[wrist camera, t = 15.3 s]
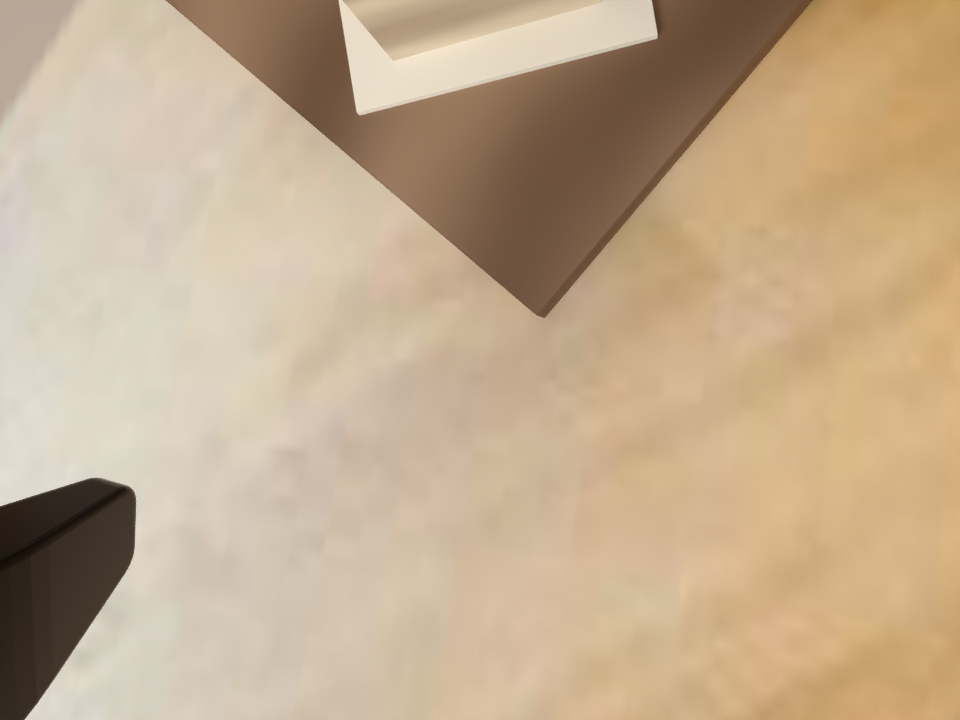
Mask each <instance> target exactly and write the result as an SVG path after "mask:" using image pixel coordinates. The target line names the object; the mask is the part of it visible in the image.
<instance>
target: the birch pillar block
mask: <svg viewBox="0 0 960 720" xmlns="http://www.w3.org/2000/svg"><path fill="white" fill-rule="evenodd" d="M343 2H344V3H345V4H346V5H347V6H348V8H349V9H350V10H351V11H352V12H353V14H354V15H355V16H356V17H357V18H358V20H359V21H360V22H361V23H362V24H363V26H364V27H365V28H366V29H367V30H368V32H369V33H370V34H371V35H372V36H373V38H374V39H375V40H376V41H377V42H378V44H379V45H380V46H381V47H382V48H383V50H384V51H385V52H386V53H387V54H388V56H389V57H390V58H391V59H392V60H393V61H395V60H399V59H402V58H406V57H409V56H413V55H416V54H420V53H424V52H427V51H431V50H434V49H438V48H441V47H445V46H449V45H452V44H456V43H459V42H463V41H467V40H470V39H474V38H477V37H481V36H484V35H488V34H492V33H495V32H499V31H502V30H506V29H509V28H513V27H517V26H520V25H524V24H527V23H531V22H534V21H538V20H542V19H545V18H549V17H552V16H556V15H560V14H563V13H567V12H570V11H574V10H577V9H581V8H585V7H588V6H592V5H595V4H599V3H601V0H343Z"/></svg>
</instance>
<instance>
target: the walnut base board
mask: <svg viewBox="0 0 960 720" xmlns="http://www.w3.org/2000/svg"><path fill="white" fill-rule="evenodd" d="M166 1H167V2H168V3H170V4H171V5H172V6H173V7H174V8H176V9H177V10H178V11H179V12H180V13H181V14H183V15H184V16H185V17H186V18H187V19H188V20H190V21H191V22H192V23H193V24H194V25H196V26H197V27H198V28H199V29H200V30H201V31H203V32H204V33H205V34H206V35H207V36H208V37H210V38H211V39H212V40H213V41H214V42H216V43H217V44H218V45H219V46H220V47H221V48H223V49H224V50H225V51H226V52H227V53H229V54H230V55H231V56H232V57H233V58H234V59H236V60H237V61H238V62H239V63H240V64H241V65H243V66H244V67H245V68H246V69H247V70H249V71H250V72H251V73H252V74H253V75H254V76H256V77H257V78H258V79H259V80H260V81H261V82H263V83H264V84H265V85H266V86H267V87H269V88H270V89H271V90H272V91H273V92H274V93H276V94H277V95H278V96H279V97H280V98H281V99H283V100H284V101H285V102H286V103H287V104H289V105H290V106H291V107H292V108H293V109H294V110H296V111H297V112H298V113H299V114H300V115H301V116H303V117H304V118H305V119H306V120H307V121H309V122H310V123H311V124H312V125H313V126H314V127H316V128H317V129H318V130H319V131H320V132H322V133H323V134H324V135H325V136H326V137H327V138H329V139H330V140H331V141H332V142H333V143H334V144H336V145H337V146H338V147H339V148H340V149H342V150H343V151H344V152H345V153H346V154H347V155H349V156H350V157H351V158H352V159H353V160H354V161H356V162H357V163H358V164H359V165H360V166H362V167H363V168H364V169H365V170H366V171H367V172H369V173H370V174H371V175H372V176H373V177H374V178H376V179H377V180H378V181H379V182H380V183H382V184H383V185H384V186H385V187H386V188H387V189H389V190H390V191H391V192H392V193H393V194H394V195H396V196H397V197H398V198H399V199H400V200H402V201H403V202H404V203H405V204H406V205H407V206H409V207H410V208H411V209H412V210H413V211H414V212H416V213H417V214H418V215H419V216H420V217H422V218H423V219H424V220H425V221H426V222H427V223H429V224H430V225H431V226H432V227H433V228H435V229H436V230H437V231H438V232H439V233H440V234H442V235H443V236H444V237H445V238H446V239H447V240H449V241H450V242H451V243H452V244H453V245H455V246H456V247H457V248H458V249H459V250H460V251H462V252H463V253H464V254H465V255H466V256H467V257H469V258H470V259H471V260H472V261H473V262H475V263H476V264H477V265H478V266H479V267H480V268H482V269H483V270H484V271H485V272H486V273H487V274H489V275H490V276H491V277H492V278H493V279H495V280H496V281H497V282H498V283H499V284H500V285H502V286H503V287H504V288H505V289H506V290H507V291H509V292H510V293H511V294H512V295H513V296H515V297H516V298H517V299H518V300H519V301H520V302H522V303H523V304H524V305H525V306H526V307H528V308H529V309H530V310H531V311H532V312H533V313H535V314H536V315H538V316H541V317H543V318H545V317H546V315H547V314H548V313H549V312H550V311H551V310H552V308H553V307H554V306H555V305H556V304H557V302H558V301H559V300H560V299H561V298H562V297H563V295H564V294H565V293H566V292H567V291H568V289H569V288H570V287H571V286H572V285H573V283H574V282H575V281H576V280H577V279H578V278H579V276H580V275H581V274H582V273H583V272H584V270H585V269H586V268H587V267H588V266H589V265H590V263H591V262H592V261H593V260H594V259H595V257H596V256H597V255H598V254H599V253H600V251H601V250H602V249H603V248H604V247H605V246H606V244H607V243H608V242H609V241H610V240H611V238H612V237H613V236H614V235H615V234H616V233H617V231H618V230H619V229H620V228H621V227H622V225H623V224H624V223H625V222H626V221H627V219H628V218H629V217H630V216H631V215H632V214H633V212H634V211H635V210H636V209H637V208H638V206H639V205H640V204H641V203H642V202H643V201H644V199H645V198H646V197H647V196H648V195H649V193H650V192H651V191H652V190H653V189H654V188H655V186H656V185H657V184H658V183H659V182H660V180H661V179H662V178H663V177H664V176H665V174H666V173H667V172H668V171H669V170H670V169H671V167H672V166H673V165H674V164H675V163H676V161H677V160H678V159H679V158H680V157H681V156H682V154H683V153H684V152H685V151H686V150H687V148H688V147H689V146H690V145H691V144H692V142H693V141H694V140H695V139H696V138H697V137H698V135H699V134H700V133H701V132H702V131H703V129H704V128H705V127H706V126H707V125H708V124H709V122H710V121H711V120H712V119H713V118H714V116H715V115H716V114H717V113H718V112H719V110H720V109H721V108H722V107H723V106H724V105H725V103H726V102H727V101H728V100H729V99H730V97H731V96H732V95H733V94H734V93H735V92H736V90H737V89H738V88H739V87H740V86H741V84H742V83H743V82H744V81H745V80H746V78H747V77H748V76H749V75H750V74H751V73H752V71H753V70H754V69H755V68H756V67H757V65H758V64H759V63H760V62H761V61H762V60H763V58H764V57H765V56H766V55H767V54H768V52H769V51H770V50H771V49H772V48H773V47H774V45H775V44H776V43H777V42H778V41H779V39H780V38H781V37H782V36H783V35H784V33H785V32H786V31H787V30H788V29H789V28H790V26H791V25H792V24H793V23H794V22H795V20H796V19H797V18H798V17H799V16H800V15H801V13H802V12H803V11H804V10H805V9H806V7H807V6H808V5H809V4H810V3H811V1H812V0H601V3H599V4H595V5H592V6H588V7H585V8H581V9H577V10H574V11H570V12H567V13H563V14H560V15H556V16H552V17H549V18H545V19H542V20H538V21H534V22H531V23H527V24H524V25H520V26H517V27H513V28H509V29H506V30H502V31H499V32H495V33H492V34H488V35H484V36H481V37H477V38H474V39H470V40H467V41H463V42H459V43H456V44H452V45H449V46H445V47H441V48H438V49H434V50H431V51H427V52H424V53H420V54H416V55H413V56H409V57H406V58H402V59H399V60H395V61H393V60H392V59H391V58H390V57H389V56H388V54H387V53H386V52H385V51H384V50H383V48H382V47H381V46H380V45H379V44H378V42H377V41H376V40H375V39H374V38H373V36H372V35H371V34H370V33H369V32H368V30H367V29H366V28H365V27H364V26H363V24H362V23H361V22H360V21H359V20H358V18H357V17H356V16H355V15H354V14H353V12H352V11H351V10H350V9H349V8H348V6H347V5H346V4H345V3H344V2H343V0H166Z"/></svg>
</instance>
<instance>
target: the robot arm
mask: <svg viewBox="0 0 960 720" xmlns="http://www.w3.org/2000/svg"><path fill="white" fill-rule="evenodd" d="M135 521H136V496H135V493H134V491H133V489H131V488H130V487H129V486H127V485H123V484H120V483H116V482H113V481H109V480H106V479H102V478H90V479H86V480H83V481H80V482H77V483H73V484H70V485H67V486H64V487H61V488H57V489H54V490H51V491H48V492H45V493H41V494H38V495H35V496H32V497H29V498H25V499H22V500H19V501H16V502H13V503H9V504H6V505H3V506H0V720H25V718H26V717H27V716H28V714H29V713H30V712H31V711H32V709H33V708H34V707H35V705H36V704H37V703H38V702H39V700H40V699H41V697H42V696H43V694H44V693H45V692H46V690H47V689H48V687H49V686H50V685H51V683H52V682H53V680H54V679H55V677H56V676H57V674H58V673H59V671H60V670H61V668H62V667H63V665H64V664H65V662H66V661H67V659H68V658H69V656H70V655H71V653H72V652H73V650H74V649H75V647H76V646H77V644H78V643H79V641H80V640H81V638H82V637H83V635H84V634H85V632H86V631H87V629H88V628H89V626H90V625H91V624H92V622H93V621H94V619H95V618H96V616H97V615H98V613H99V612H100V610H101V609H102V607H103V606H104V604H105V603H106V601H107V600H108V598H109V597H110V595H111V594H112V592H113V591H114V589H115V588H116V586H117V585H118V583H119V582H120V580H121V579H122V577H123V576H124V574H125V573H126V571H127V569H128V567H129V565H130V563H131V560H132V558H133V554H134V548H135Z"/></svg>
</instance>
